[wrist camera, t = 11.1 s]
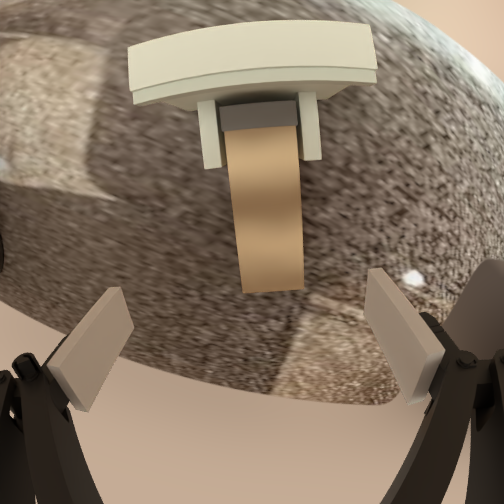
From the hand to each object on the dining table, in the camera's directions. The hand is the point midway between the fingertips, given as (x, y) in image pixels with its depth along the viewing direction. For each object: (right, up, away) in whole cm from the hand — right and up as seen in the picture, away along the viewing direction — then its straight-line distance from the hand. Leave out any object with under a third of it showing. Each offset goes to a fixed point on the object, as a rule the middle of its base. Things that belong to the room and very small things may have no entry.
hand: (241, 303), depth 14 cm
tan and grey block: (+2, +9, +15) cm, 17 cm away
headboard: (+1, +16, +12) cm, 20 cm away
